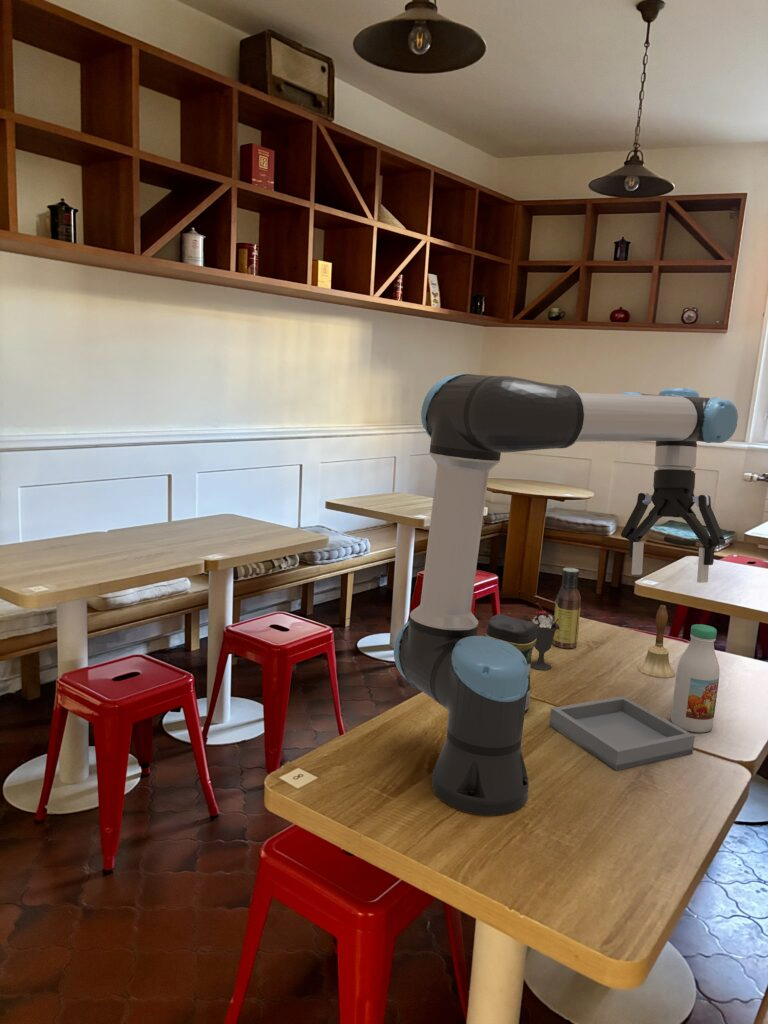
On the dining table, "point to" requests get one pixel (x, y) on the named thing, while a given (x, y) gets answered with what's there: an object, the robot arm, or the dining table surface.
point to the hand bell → (658, 651)
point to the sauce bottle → (567, 610)
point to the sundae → (543, 637)
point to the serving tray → (621, 732)
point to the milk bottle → (696, 682)
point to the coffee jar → (515, 638)
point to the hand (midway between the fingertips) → (668, 578)
